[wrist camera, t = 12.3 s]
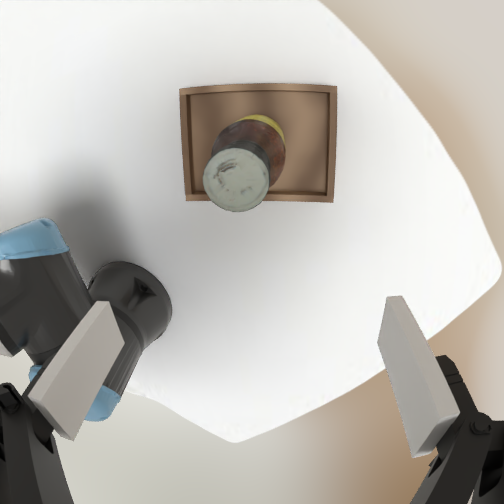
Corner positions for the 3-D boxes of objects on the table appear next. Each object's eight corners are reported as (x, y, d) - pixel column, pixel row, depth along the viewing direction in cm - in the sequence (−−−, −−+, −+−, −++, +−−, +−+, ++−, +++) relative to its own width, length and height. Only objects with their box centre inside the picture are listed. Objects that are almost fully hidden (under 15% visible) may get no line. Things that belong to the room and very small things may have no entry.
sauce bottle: (233, 113, 34) (182, 116, 16) (286, 116, 33) (292, 119, 16) (231, 165, 37) (183, 222, 19) (282, 168, 36) (284, 229, 18)
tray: (192, 194, 40) (186, 200, 37) (186, 90, 34) (179, 88, 31) (329, 196, 38) (333, 202, 36) (332, 88, 32) (337, 86, 30)
